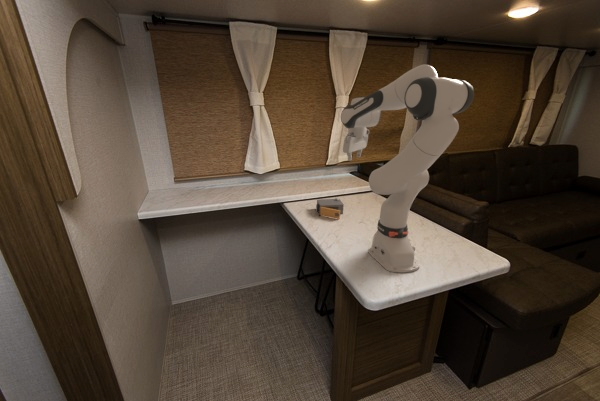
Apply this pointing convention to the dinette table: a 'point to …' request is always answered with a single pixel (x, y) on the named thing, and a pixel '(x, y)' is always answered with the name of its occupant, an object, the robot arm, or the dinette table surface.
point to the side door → (329, 212)
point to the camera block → (330, 204)
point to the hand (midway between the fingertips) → (354, 158)
